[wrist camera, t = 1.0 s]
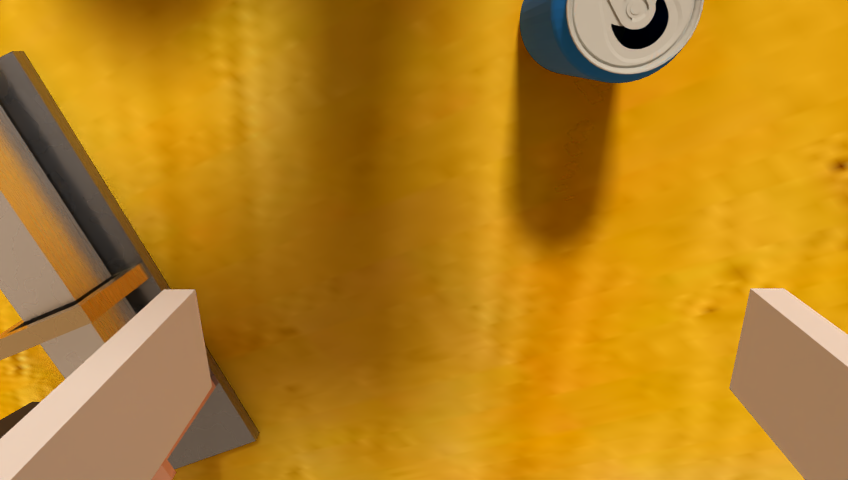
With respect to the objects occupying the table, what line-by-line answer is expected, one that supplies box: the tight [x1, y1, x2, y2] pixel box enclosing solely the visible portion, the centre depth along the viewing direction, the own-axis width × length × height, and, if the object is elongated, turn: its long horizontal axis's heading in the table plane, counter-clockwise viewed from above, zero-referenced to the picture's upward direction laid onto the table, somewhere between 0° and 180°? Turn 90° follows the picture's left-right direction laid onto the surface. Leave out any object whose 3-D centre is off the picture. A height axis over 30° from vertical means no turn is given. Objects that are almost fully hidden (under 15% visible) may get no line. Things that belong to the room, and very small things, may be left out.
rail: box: [0, 51, 259, 469], centre depth 37 cm, size 32×8×8 cm, turn 23°
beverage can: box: [520, 0, 704, 83], centre depth 28 cm, size 6×6×12 cm
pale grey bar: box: [0, 105, 136, 379], centre depth 35 cm, size 22×4×4 cm, turn 23°
